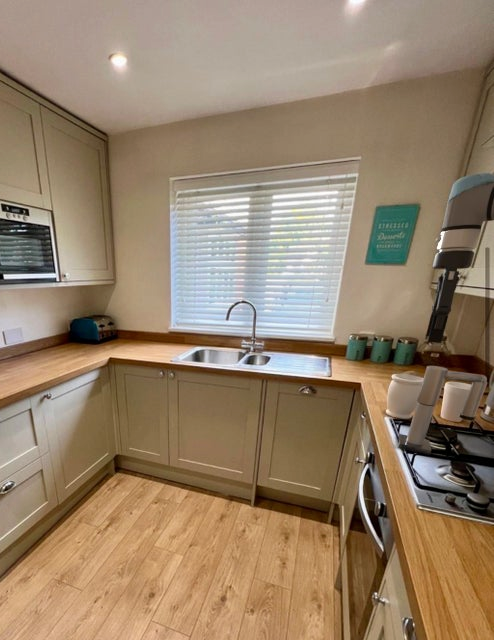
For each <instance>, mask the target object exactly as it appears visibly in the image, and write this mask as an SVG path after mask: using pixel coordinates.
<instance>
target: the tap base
mask: <svg viewBox="0 0 494 640" xmlns="http://www.w3.org/2000/svg"><path fill="white" fill-rule="evenodd" d="M435 408H436V405H426V404H422V403H419V402H417V405H416V408H415V410H414V411H413V415H412V419H411V423H410V425H409V429H408V432H407V434H402V433H399V434H398V438H397V442H398V445H397V446H398V447H397V448H398V449H403V450H406V451H409V452H410V451H411V452H415V453H419V454H424V455H427V456H431V453H432V448H431V442H430V440H429V439H426V437H427V433H428V430H429V428H430V427H429V426H430V424H431V421H432V418H433V415H434V412H435Z"/></svg>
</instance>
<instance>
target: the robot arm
mask: <svg viewBox="0 0 494 640" xmlns="http://www.w3.org/2000/svg"><path fill="white" fill-rule="evenodd" d="M442 221H443V222H442V227H441V230H440V236H437V237H436V239H435V242H438V244H437V247H436V250H437V251H439V252H436V253H435V256H434V259H433V263H432V268H433V269H434V270H443V273H441V274H440V276H438V278H437V282H436V289H435V293H436V294H435V297H434V301H433V304H432V308H431V313H430V317H429V322H428V326H427V330H426V332H425V333H426V334H425V337H427V343H433V344H434V343H437V344H442V342H443V338H444V334H445V330H446V327H447V323H448V319H449V314H450V313H451V311H452V305H453V299H454V295H455V292H456V289H457V285H458V283H459V280H460V276H459V275H460V271H459V270H464V269H465V270H466V269H470V268H471V267H472V264H473V260H474V258H475V257H474V256H475V252H474V251H473V250H475V249H477V247H478V243H479V239H480V236H481V232H482V228H483V227H482V226H483V224H484V223H485V222H492V221H494V174H493V173H490V172H482V173H474V174H468V175H466V176H462V177H460V178H458V179H457V180H455V181H454V182H453V184H452V187H451V190H450V194H449V197H448V200H447V202H446V208H445V213H444V217H443V220H442Z"/></svg>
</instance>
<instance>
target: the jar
mask: <svg viewBox="0 0 494 640" xmlns="http://www.w3.org/2000/svg"><path fill="white" fill-rule="evenodd" d="M421 377H422V376H421ZM421 377H418V376H413V375H407V374H403V373H393V374H391V379H392V380H391V381H390V383H389V386H388V389H387V395H386V407H387V409H386V410H385V414H386V415H389V417H393V418H397V419H402V420H409V419H411V418H413V415H412V413H414V412H415V409H416V405H417V402H418V401H417V399H418V396H419V392H420V389H421V386H422V382H423V379H424V377H422V378H421Z"/></svg>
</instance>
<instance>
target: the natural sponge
mask: <svg viewBox="0 0 494 640" xmlns="http://www.w3.org/2000/svg"><path fill="white" fill-rule="evenodd" d="M402 374H407V375H413V376H418V377H421V378H423V377H422V375H421V374H420V372H418V371H416V370H407V371H404V372H402Z"/></svg>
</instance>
